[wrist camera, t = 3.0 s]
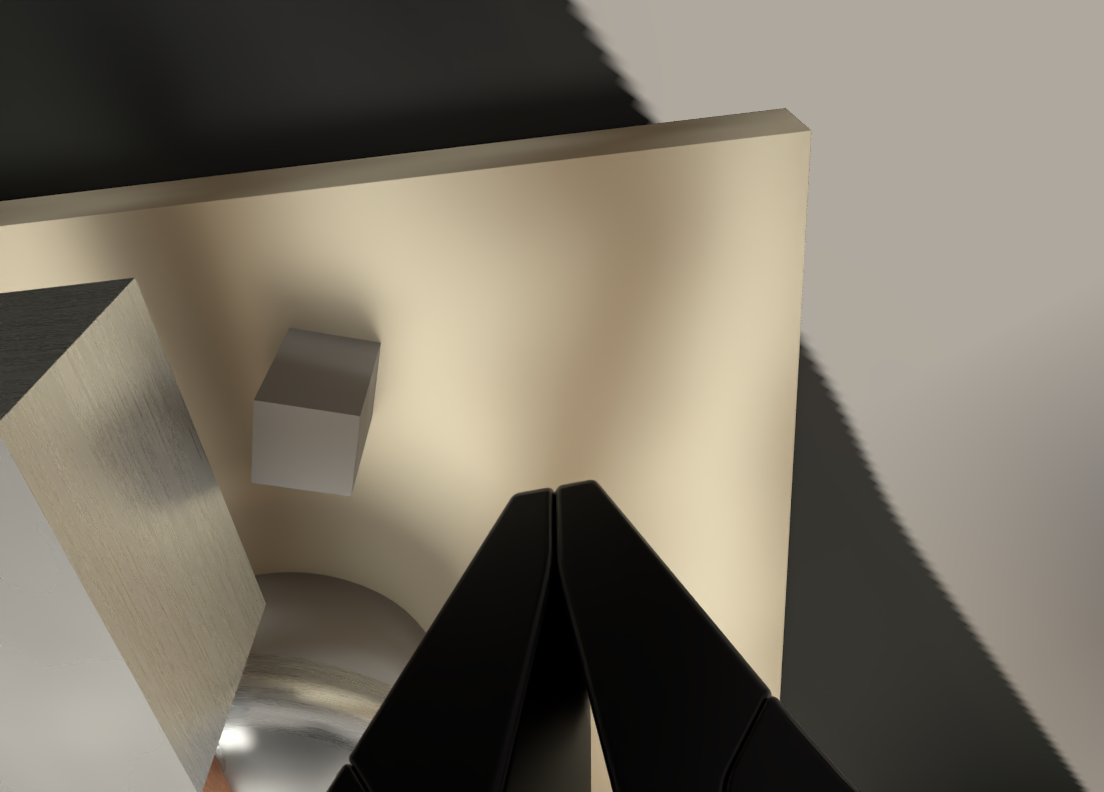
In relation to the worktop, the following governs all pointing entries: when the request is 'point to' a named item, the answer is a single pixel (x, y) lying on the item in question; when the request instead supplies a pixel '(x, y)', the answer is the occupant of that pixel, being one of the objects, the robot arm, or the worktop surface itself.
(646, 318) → the base plate
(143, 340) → the grey piece
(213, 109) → the worktop surface
